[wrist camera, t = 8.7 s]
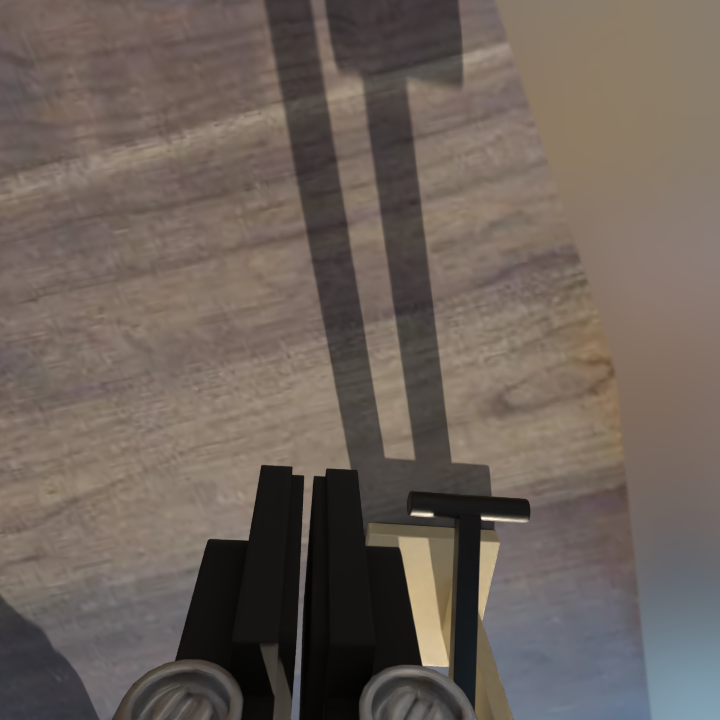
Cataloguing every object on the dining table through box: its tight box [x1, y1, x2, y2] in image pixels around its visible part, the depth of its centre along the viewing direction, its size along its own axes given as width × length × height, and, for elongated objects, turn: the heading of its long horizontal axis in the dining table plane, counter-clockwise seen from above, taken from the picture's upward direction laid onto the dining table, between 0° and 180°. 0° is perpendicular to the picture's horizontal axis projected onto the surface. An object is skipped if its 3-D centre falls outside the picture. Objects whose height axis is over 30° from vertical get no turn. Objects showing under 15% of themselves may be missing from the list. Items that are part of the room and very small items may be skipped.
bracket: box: [365, 523, 514, 720], centre depth 34 cm, size 10×8×14 cm
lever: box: [407, 491, 530, 712], centre depth 30 cm, size 14×6×2 cm
